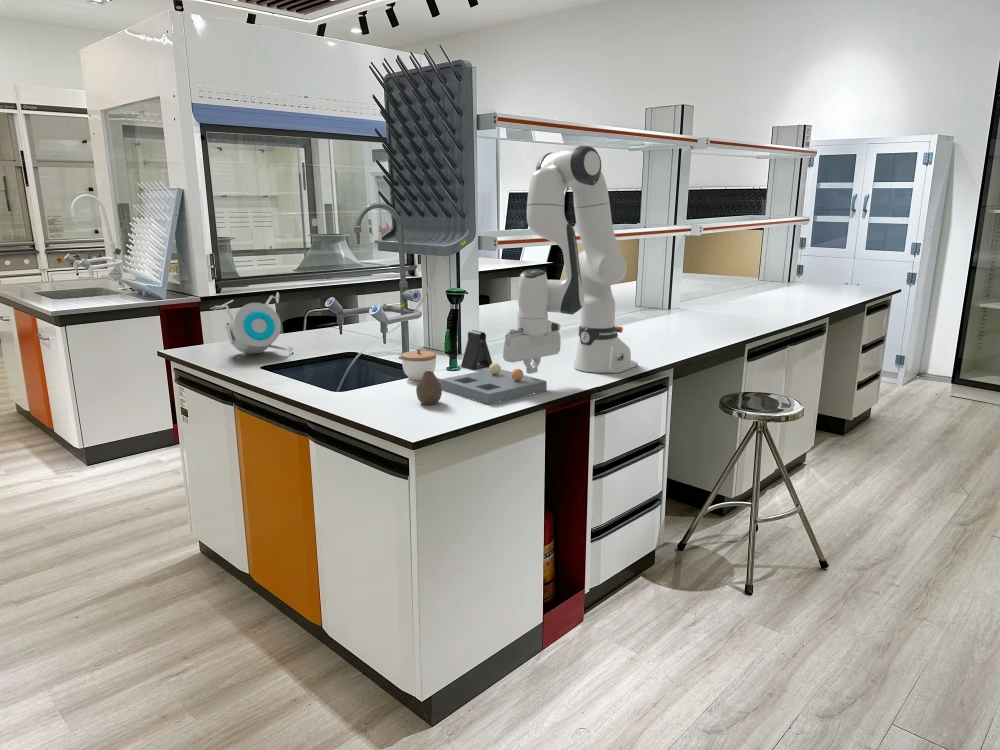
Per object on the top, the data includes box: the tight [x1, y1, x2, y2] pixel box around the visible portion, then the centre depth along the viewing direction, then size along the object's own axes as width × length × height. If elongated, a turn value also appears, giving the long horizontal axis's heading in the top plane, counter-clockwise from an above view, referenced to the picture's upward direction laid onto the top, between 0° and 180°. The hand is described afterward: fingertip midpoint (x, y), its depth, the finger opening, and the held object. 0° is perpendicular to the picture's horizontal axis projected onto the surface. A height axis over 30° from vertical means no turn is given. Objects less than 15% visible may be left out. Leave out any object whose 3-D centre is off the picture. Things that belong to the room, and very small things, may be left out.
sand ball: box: [488, 362, 501, 375], centre depth 208 cm, size 4×4×4 cm
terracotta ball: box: [511, 368, 524, 381], centre depth 201 cm, size 4×4×4 cm
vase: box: [416, 371, 443, 406], centre depth 188 cm, size 7×7×9 cm
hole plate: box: [439, 368, 548, 405], centre depth 202 cm, size 22×22×3 cm
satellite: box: [209, 291, 294, 359], centre depth 249 cm, size 23×20×25 cm
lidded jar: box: [400, 348, 437, 381], centre depth 215 cm, size 11×11×9 cm
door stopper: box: [460, 329, 494, 371], centre depth 231 cm, size 9×6×12 cm, turn 131°
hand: (531, 372), depth 205 cm, fingers closed
